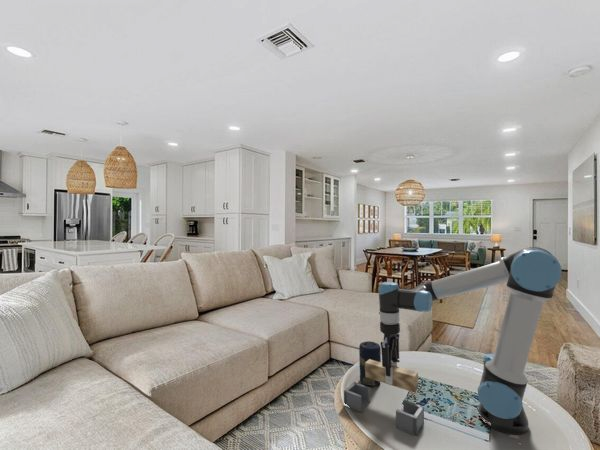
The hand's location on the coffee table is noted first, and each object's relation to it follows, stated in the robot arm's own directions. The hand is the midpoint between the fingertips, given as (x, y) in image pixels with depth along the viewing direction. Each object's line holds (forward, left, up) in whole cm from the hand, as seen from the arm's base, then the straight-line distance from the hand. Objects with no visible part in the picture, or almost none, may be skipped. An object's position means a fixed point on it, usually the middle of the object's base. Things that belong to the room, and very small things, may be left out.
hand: (391, 380), depth 122 cm
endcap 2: (-10, +8, -10) cm, 16 cm away
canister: (+15, -11, -10) cm, 21 cm away
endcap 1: (+11, +8, -10) cm, 17 cm away
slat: (0, 0, -1) cm, 1 cm away
